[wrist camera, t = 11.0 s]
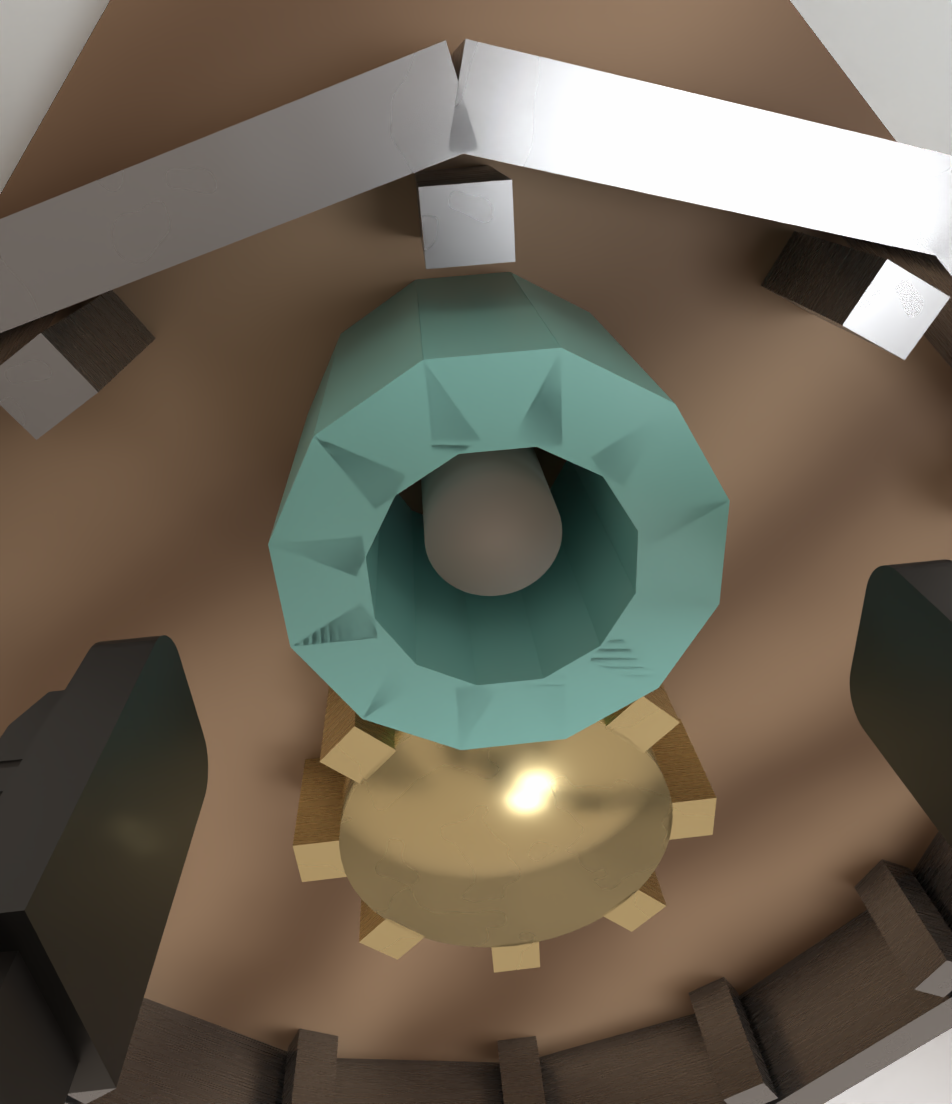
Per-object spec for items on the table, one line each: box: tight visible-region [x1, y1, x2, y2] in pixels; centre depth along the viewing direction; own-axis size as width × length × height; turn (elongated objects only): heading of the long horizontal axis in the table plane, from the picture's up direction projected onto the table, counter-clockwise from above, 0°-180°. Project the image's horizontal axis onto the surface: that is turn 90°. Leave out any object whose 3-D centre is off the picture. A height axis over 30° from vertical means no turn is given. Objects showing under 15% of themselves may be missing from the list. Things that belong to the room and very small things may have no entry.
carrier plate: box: [0, 0, 952, 1062], centre depth 18 cm, size 28×28×6 cm
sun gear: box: [293, 684, 717, 973], centre depth 18 cm, size 9×9×2 cm
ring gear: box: [0, 39, 952, 1104], centre depth 18 cm, size 27×27×3 cm
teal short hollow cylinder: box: [268, 272, 730, 750], centre depth 13 cm, size 6×6×5 cm
